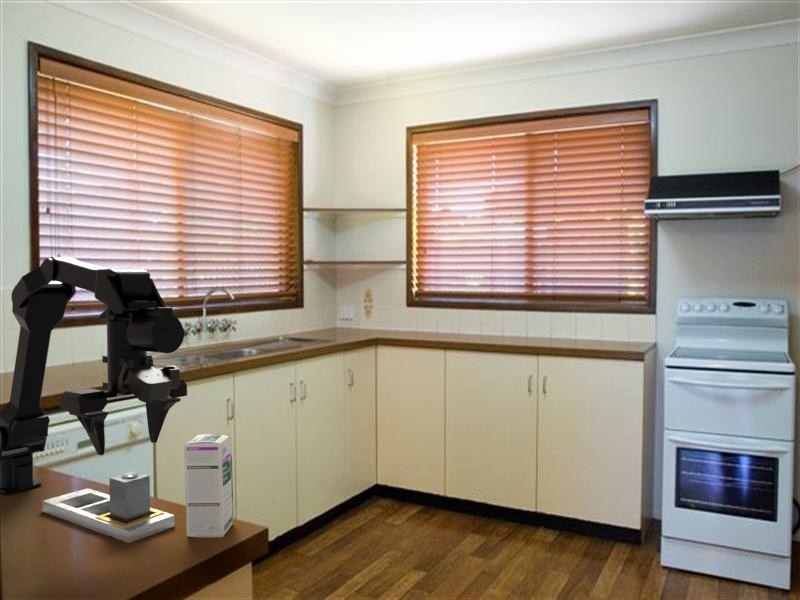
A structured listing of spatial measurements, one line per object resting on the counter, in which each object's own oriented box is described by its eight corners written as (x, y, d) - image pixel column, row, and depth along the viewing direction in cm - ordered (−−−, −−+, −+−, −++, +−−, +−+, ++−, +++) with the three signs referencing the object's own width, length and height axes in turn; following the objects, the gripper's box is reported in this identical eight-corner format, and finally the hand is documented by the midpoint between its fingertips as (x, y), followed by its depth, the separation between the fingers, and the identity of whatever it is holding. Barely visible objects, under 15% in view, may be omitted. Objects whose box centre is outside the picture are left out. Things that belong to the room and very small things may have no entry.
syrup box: (223, 537, 99) (222, 442, 99) (184, 537, 100) (183, 442, 99) (234, 523, 105) (233, 433, 105) (197, 523, 105) (196, 433, 105)
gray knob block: (110, 528, 103) (109, 476, 103) (134, 520, 107) (133, 470, 106) (126, 534, 101) (125, 481, 101) (150, 526, 104) (149, 474, 104)
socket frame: (42, 511, 111) (42, 499, 111) (87, 498, 117) (87, 487, 117) (128, 543, 97) (128, 529, 97) (174, 526, 104) (174, 513, 104)
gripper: (101, 358, 91) (102, 471, 92) (209, 347, 107) (210, 443, 107) (57, 353, 97) (59, 458, 98) (165, 343, 113) (166, 434, 113)
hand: (128, 448), depth 104 cm, fingers open, 9 cm apart
